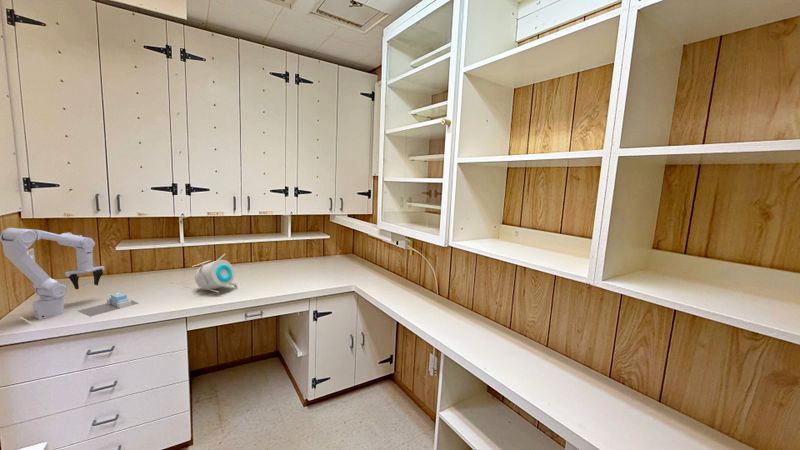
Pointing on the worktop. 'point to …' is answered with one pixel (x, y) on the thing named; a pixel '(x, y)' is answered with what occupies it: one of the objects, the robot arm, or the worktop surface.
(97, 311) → the plate
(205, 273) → the satellite
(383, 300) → the worktop surface
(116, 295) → the block
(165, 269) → the worktop surface
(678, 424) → the worktop surface
